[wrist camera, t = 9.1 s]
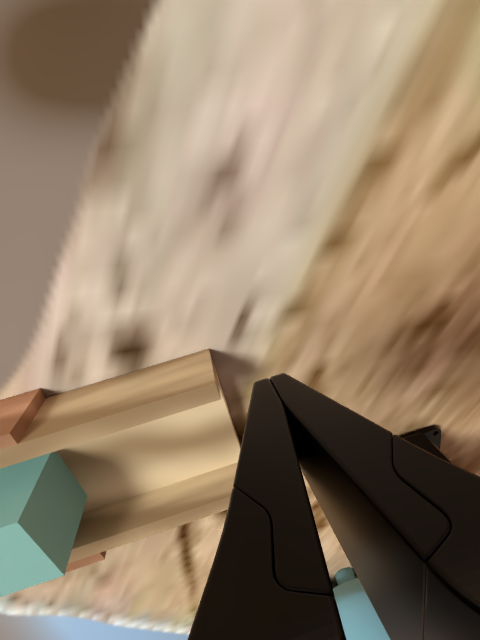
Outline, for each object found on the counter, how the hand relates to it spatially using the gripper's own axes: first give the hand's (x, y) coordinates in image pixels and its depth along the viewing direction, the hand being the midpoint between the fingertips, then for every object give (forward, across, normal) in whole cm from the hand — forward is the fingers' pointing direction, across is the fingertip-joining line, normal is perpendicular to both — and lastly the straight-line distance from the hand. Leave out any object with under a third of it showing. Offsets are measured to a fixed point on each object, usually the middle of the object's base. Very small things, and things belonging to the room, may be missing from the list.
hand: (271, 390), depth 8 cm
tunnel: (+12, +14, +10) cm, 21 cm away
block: (+10, +16, +10) cm, 21 cm away
